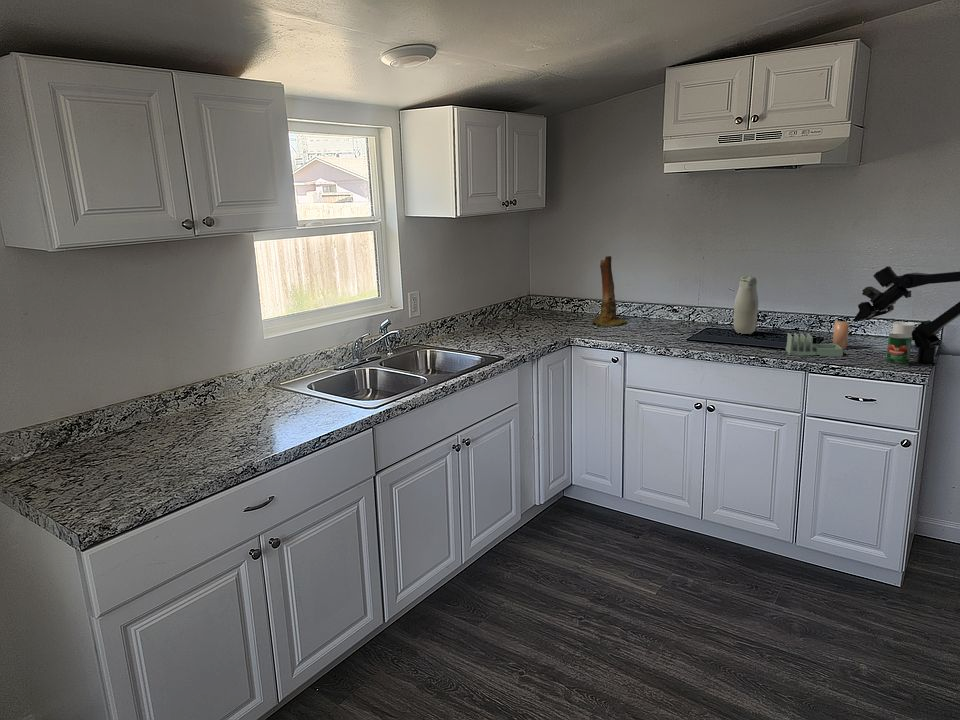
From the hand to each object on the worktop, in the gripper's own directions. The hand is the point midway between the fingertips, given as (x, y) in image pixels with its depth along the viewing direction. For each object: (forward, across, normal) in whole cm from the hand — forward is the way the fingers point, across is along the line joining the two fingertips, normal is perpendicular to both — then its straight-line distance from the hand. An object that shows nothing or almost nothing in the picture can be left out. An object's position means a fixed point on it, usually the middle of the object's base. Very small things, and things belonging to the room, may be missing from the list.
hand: (859, 319), depth 287 cm
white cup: (+4, -21, +15) cm, 26 cm away
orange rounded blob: (+14, 0, +4) cm, 15 cm away
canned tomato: (-6, +10, +24) cm, 27 cm away
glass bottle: (+45, +6, -26) cm, 52 cm away
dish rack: (+15, +18, +3) cm, 24 cm away
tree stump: (+90, +33, -70) cm, 119 cm away
